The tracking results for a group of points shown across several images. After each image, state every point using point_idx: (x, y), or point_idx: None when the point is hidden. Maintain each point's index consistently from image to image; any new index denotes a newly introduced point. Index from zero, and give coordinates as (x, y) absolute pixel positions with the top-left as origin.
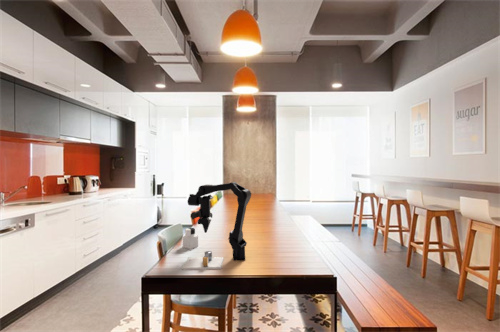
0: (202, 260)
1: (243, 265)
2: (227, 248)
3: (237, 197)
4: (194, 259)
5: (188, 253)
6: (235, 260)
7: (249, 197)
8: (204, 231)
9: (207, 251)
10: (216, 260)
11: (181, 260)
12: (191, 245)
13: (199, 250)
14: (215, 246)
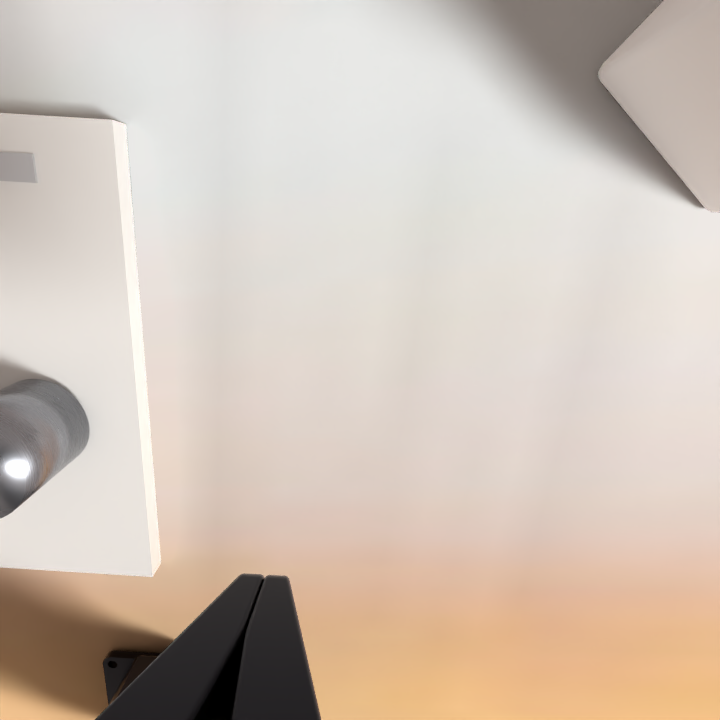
0: (22, 349)
1: (3, 714)
2: (510, 599)
3: None
4: (49, 234)
5: (392, 86)
6: (108, 666)
7: None
8: (213, 601)
9: (5, 459)
10: (43, 509)
11: (84, 16)
12: (647, 93)
13: (504, 254)
14: (630, 465)
